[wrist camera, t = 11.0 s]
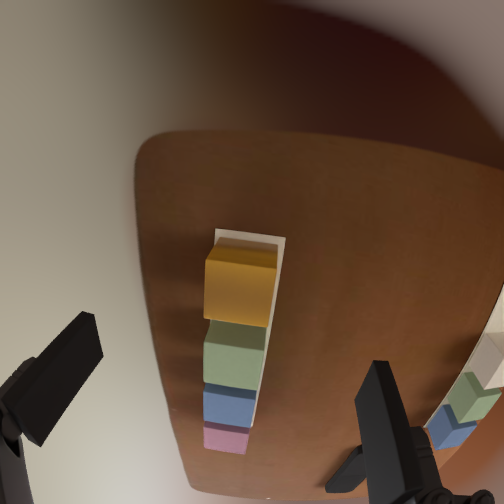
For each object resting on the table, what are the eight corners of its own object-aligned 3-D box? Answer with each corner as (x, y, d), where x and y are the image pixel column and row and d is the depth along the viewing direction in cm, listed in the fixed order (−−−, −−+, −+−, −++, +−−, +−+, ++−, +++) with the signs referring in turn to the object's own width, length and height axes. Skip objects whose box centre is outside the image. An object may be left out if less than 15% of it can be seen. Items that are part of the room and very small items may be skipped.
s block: (219, 236, 22) (205, 259, 18) (278, 244, 22) (277, 269, 18) (216, 288, 24) (203, 318, 20) (270, 296, 24) (267, 328, 20)
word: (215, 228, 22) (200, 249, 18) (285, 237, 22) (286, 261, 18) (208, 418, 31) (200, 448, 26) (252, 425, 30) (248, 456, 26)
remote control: (356, 442, 31) (323, 487, 36) (358, 452, 30) (323, 495, 35) (388, 440, 31) (350, 486, 36) (391, 450, 29) (351, 494, 34)
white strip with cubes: (508, 272, 21) (533, 293, 17) (533, 276, 20) (557, 296, 16) (422, 427, 29) (431, 452, 25) (451, 423, 29) (460, 446, 25)
